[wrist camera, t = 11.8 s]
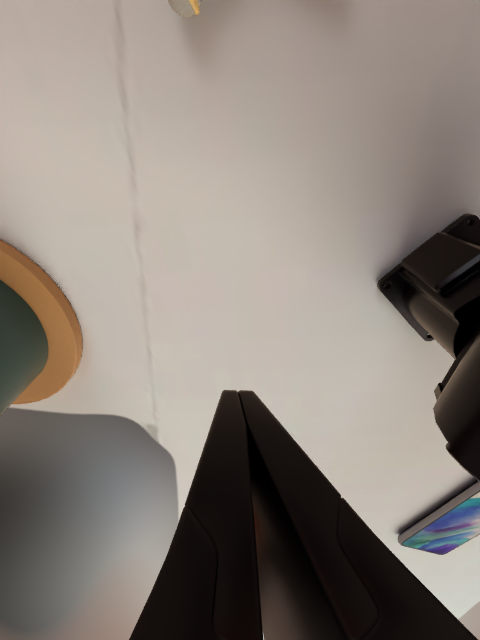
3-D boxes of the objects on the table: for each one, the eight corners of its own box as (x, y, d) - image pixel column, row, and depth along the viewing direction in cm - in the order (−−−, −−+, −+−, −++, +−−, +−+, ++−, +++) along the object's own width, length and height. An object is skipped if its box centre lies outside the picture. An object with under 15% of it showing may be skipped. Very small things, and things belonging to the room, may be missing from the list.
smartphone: (550, 494, 30) (443, 556, 36) (543, 485, 30) (439, 548, 37) (498, 477, 28) (396, 545, 35) (491, 468, 29) (393, 536, 36)
